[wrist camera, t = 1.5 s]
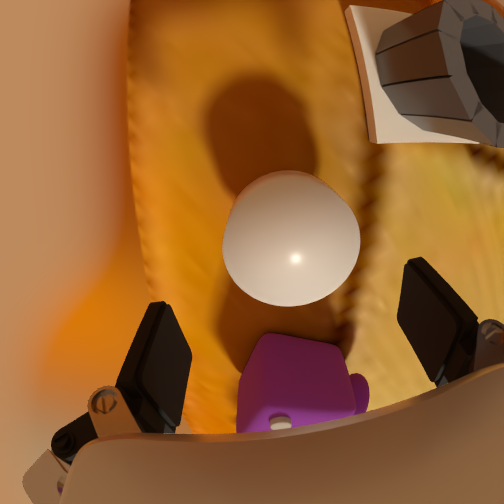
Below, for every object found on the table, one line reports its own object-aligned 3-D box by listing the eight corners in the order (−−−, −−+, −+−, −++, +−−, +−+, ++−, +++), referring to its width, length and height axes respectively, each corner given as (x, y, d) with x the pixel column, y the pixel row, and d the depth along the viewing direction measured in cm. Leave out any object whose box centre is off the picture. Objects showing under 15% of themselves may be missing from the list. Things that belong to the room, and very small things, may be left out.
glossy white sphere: (324, 154, 19) (357, 172, 13) (333, 245, 22) (359, 294, 16) (223, 170, 20) (207, 195, 13) (243, 259, 23) (238, 314, 17)
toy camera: (341, 388, 32) (355, 452, 23) (237, 385, 31) (233, 456, 22) (372, 330, 27) (402, 404, 18) (245, 324, 26) (241, 412, 17)
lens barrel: (451, 30, 12) (521, 15, 4) (469, 141, 17) (545, 166, 9) (343, 11, 13) (396, -42, 5) (369, 141, 18) (443, 163, 10)
